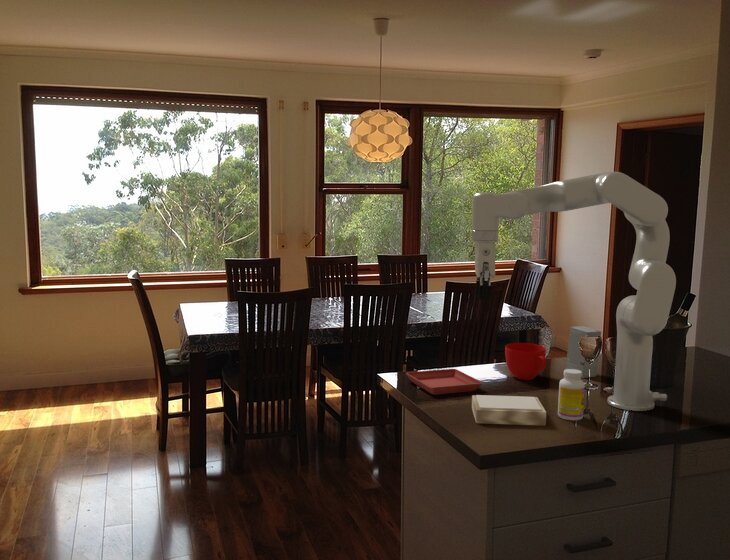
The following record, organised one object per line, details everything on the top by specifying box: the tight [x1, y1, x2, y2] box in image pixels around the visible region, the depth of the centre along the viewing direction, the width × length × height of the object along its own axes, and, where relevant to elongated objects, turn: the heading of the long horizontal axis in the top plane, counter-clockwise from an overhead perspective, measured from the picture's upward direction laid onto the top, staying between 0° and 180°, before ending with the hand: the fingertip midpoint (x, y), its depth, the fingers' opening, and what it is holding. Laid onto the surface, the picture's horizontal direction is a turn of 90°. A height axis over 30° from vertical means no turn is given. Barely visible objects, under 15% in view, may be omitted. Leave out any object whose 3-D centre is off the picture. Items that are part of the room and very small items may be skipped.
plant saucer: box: [405, 368, 484, 396], centre depth 213 cm, size 18×18×3 cm
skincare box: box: [565, 325, 602, 379], centre depth 228 cm, size 8×7×16 cm
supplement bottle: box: [557, 368, 586, 422], centre depth 185 cm, size 7×7×13 cm
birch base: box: [471, 394, 547, 426], centre depth 186 cm, size 18×13×4 cm
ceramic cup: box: [504, 342, 548, 381], centre depth 223 cm, size 13×17×10 cm
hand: (482, 296), depth 195 cm, fingers open, 9 cm apart
